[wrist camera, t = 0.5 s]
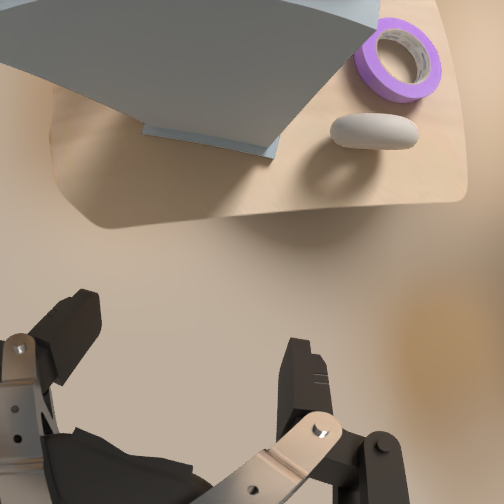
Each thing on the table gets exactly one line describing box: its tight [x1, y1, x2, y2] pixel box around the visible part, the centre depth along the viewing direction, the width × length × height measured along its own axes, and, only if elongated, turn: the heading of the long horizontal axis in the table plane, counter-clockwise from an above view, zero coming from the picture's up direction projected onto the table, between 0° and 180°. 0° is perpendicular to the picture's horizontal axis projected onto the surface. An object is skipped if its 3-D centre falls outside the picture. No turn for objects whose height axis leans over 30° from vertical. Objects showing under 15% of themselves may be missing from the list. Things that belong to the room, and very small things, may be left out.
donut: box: [330, 113, 419, 150], centre depth 31 cm, size 10×4×10 cm, turn 92°
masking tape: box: [354, 18, 442, 103], centre depth 31 cm, size 12×12×4 cm
